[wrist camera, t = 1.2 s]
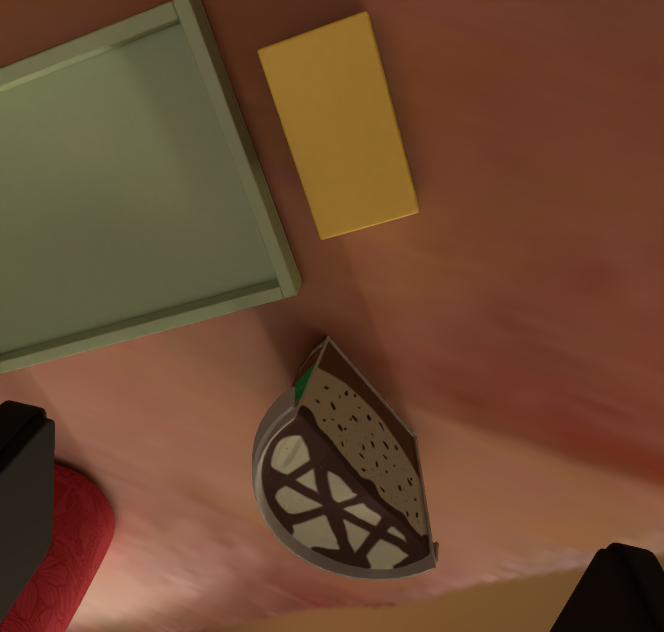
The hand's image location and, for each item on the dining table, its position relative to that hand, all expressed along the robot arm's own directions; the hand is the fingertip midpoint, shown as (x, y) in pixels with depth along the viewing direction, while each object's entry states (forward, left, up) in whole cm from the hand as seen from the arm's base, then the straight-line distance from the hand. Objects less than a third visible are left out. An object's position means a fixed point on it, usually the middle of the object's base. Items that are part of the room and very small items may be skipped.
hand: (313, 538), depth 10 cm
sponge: (0, -4, -25) cm, 25 cm away
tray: (+16, -4, -25) cm, 29 cm away
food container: (+6, +13, -25) cm, 28 cm away
